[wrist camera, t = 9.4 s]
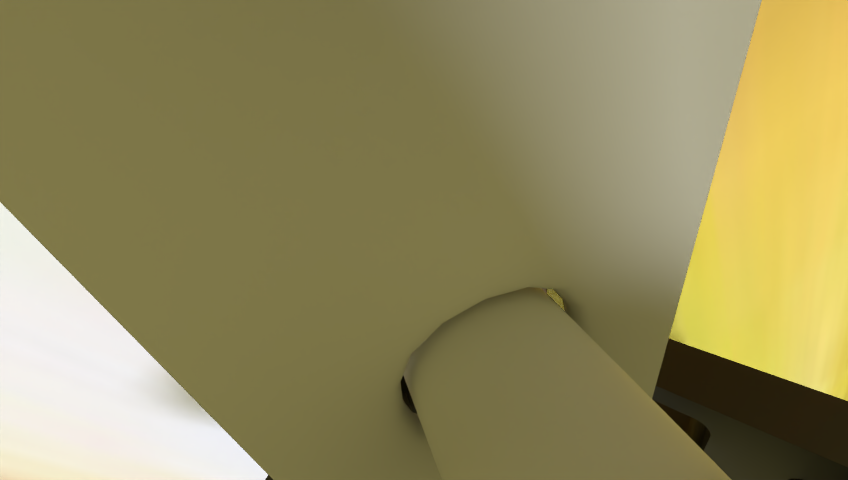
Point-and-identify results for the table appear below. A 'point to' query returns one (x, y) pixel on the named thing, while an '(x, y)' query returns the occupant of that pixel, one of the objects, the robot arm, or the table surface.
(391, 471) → the long lego plate
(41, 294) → the table surface
